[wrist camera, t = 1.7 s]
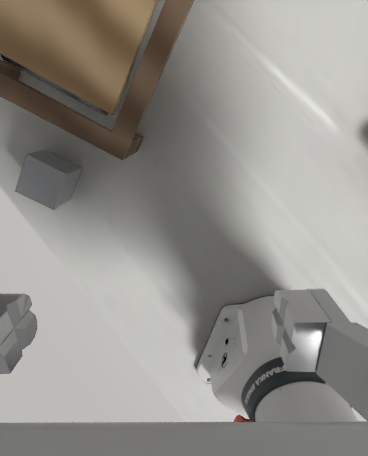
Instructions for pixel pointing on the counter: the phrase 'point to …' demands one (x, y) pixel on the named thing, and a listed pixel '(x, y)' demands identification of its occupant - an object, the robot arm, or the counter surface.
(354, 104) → the counter surface
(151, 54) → the trapdoor frame
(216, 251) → the counter surface
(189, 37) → the counter surface
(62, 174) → the stone block
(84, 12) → the trapdoor
